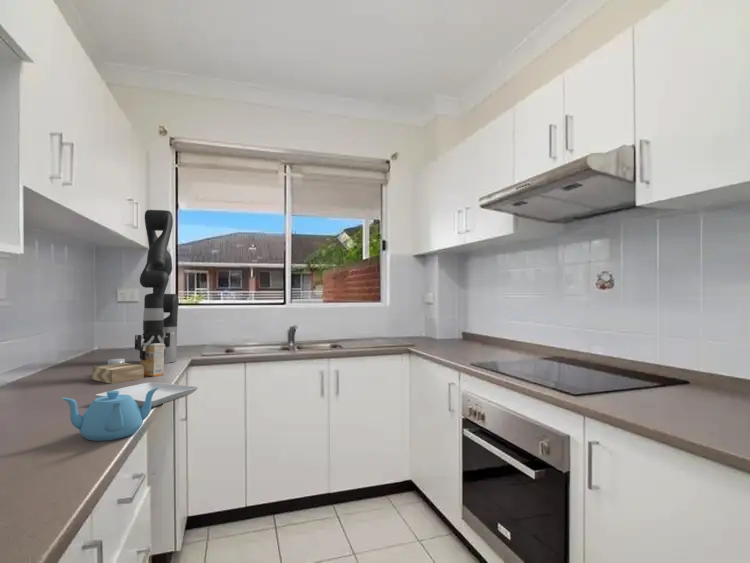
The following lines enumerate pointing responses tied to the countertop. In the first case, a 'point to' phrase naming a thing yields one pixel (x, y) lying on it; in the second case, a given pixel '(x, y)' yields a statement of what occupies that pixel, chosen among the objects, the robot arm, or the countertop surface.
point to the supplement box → (154, 360)
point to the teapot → (110, 416)
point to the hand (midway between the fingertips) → (152, 359)
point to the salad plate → (160, 395)
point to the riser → (118, 372)
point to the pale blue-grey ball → (116, 361)
